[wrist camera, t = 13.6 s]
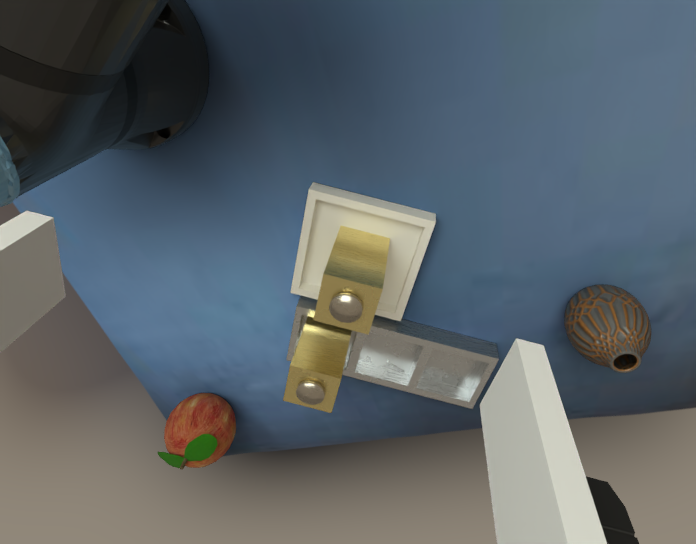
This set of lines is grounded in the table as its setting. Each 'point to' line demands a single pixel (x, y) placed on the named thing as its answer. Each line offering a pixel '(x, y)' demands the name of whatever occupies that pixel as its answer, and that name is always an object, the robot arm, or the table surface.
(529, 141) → the table surface
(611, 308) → the vase
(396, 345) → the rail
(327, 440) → the table surface
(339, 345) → the brass block with knob
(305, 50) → the table surface
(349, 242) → the knobbed block
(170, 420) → the fruit
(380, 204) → the tray
